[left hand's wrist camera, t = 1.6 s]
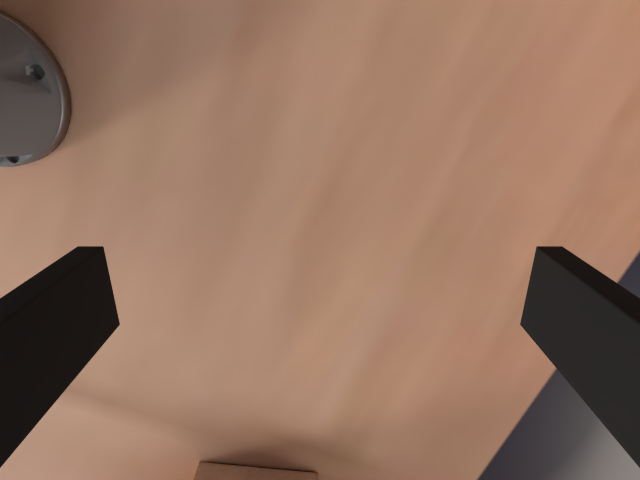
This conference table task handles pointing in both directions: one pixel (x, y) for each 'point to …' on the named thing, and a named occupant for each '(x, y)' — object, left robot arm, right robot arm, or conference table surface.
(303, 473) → the box
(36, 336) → the left robot arm
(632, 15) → the conference table surface
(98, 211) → the conference table surface
